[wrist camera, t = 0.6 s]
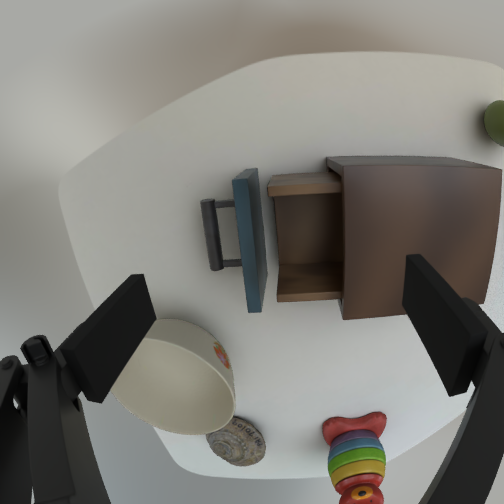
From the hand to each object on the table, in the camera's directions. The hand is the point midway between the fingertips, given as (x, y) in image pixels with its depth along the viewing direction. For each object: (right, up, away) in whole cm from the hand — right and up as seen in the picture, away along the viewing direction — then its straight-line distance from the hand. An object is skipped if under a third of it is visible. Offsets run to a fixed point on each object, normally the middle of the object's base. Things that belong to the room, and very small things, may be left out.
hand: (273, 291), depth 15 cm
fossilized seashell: (-3, -30, +33) cm, 44 cm away
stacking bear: (+16, -29, +30) cm, 44 cm away
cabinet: (+14, +6, +16) cm, 23 cm away
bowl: (-10, -10, +26) cm, 29 cm away
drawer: (+4, +5, +17) cm, 18 cm away
